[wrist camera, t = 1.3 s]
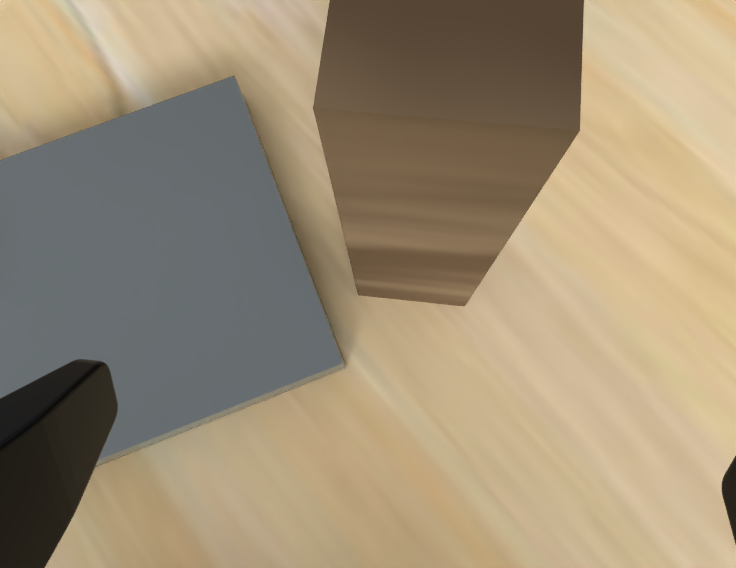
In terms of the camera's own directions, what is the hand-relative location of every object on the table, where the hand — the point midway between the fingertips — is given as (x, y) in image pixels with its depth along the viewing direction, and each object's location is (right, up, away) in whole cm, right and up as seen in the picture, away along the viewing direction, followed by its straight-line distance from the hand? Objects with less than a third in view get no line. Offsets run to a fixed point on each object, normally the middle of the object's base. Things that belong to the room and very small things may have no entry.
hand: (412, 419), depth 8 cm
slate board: (-11, +1, +14) cm, 18 cm away
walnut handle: (+1, +3, +14) cm, 14 cm away
